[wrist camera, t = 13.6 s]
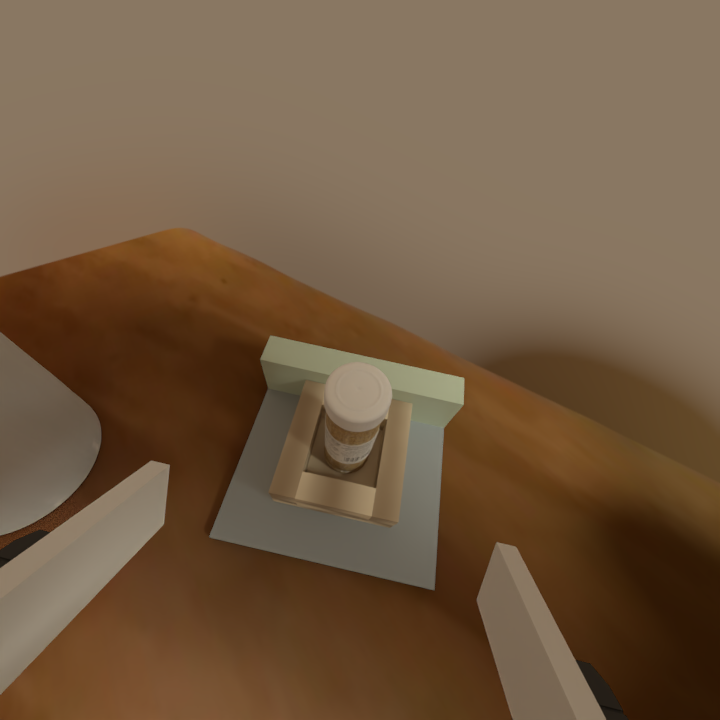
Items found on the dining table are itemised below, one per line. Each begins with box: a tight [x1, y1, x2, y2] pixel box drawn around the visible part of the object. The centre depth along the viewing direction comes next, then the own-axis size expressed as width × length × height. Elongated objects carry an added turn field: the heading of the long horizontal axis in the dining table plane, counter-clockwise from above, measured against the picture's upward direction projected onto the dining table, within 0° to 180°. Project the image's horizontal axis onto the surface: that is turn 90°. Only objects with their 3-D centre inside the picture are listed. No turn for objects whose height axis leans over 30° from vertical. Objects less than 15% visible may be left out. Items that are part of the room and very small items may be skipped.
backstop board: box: [209, 335, 464, 590], centre depth 31 cm, size 20×18×7 cm
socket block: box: [268, 380, 412, 528], centre depth 32 cm, size 11×11×4 cm
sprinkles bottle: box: [324, 362, 392, 474], centre depth 27 cm, size 5×5×13 cm
